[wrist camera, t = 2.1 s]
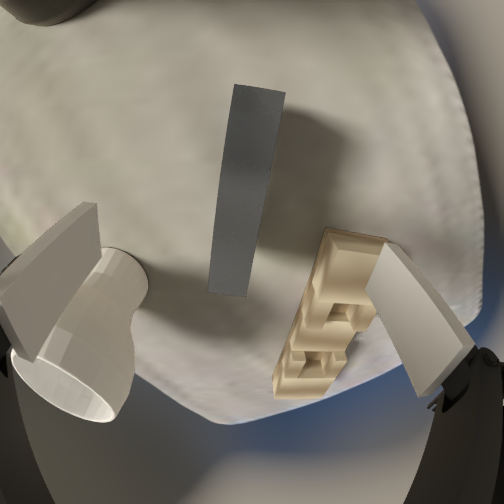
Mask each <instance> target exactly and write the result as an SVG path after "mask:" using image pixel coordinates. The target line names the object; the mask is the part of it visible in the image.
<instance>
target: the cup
mask: <svg viewBox="0 0 504 504" xmlns="http://www.w3.org/2000/svg"><path fill="white" fill-rule="evenodd" d="M101 252H102V258H101V259H100V261H99V262H98V263H97V265H96V266H95V267H94V269H93V270H92V271H91V273H90V274H89V275H88V277H87V278H86V280H85V281H84V282H83V284H82V285H81V287H80V288H79V289H78V291H77V292H76V294H75V295H74V297H73V298H72V300H71V301H70V303H69V304H68V306H67V307H66V309H65V310H64V312H63V313H62V315H61V317H60V318H59V320H58V321H57V323H56V324H55V326H54V328H53V329H52V331H51V333H50V334H49V336H48V338H47V339H46V341H45V343H44V345H43V346H42V348H41V350H40V352H39V354H38V355H37V357H36V359H35V361H34V363H31V362H29V361H27V360H24V359H22V358H20V357H18V356H17V354H16V352H15V351H14V349H12V353H11V360H12V364H13V366H14V368H15V370H16V371H17V372H18V374H19V375H20V377H21V378H22V379H23V380H24V381H25V382H26V383H27V384H28V385H29V386H30V387H31V388H32V389H33V390H34V391H35V392H36V393H38V394H39V395H40V396H41V397H43V398H44V399H46V400H47V401H48V402H50V403H51V404H53V405H55V406H56V407H58V408H60V409H62V410H64V411H66V412H68V413H70V414H72V415H75V416H77V417H80V418H83V419H86V420H90V421H94V422H109V421H112V420H113V419H114V418H115V417H116V416H117V414H118V412H119V411H120V409H121V407H122V405H123V404H124V402H125V400H126V399H127V397H128V394H129V391H130V387H131V383H132V379H133V375H134V371H135V355H134V344H133V339H132V334H131V330H130V326H131V321H132V317H133V314H134V312H135V311H136V309H137V308H138V307H139V305H140V304H141V302H142V301H143V299H144V298H145V296H146V294H147V291H148V279H147V276H146V273H145V271H144V270H143V268H142V267H141V265H140V264H139V263H138V262H137V261H136V260H135V259H134V258H133V257H131V256H130V255H128V254H127V253H125V252H123V251H121V250H118V249H114V248H101Z"/></svg>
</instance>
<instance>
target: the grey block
mask: <svg viewBox="0 0 504 504" xmlns="http://www.w3.org/2000/svg"><path fill="white" fill-rule="evenodd" d="M285 94H286V92H281V91H276V90H270V89H264V88H258V87H252V86H245V85H238V84H234V89H233V95H232V101H231V107H230V113H229V119H228V126H227V132H226V139H225V146H224V152H223V159H222V167H221V174H220V182H219V189H218V197H217V206H216V214H215V223H214V232H213V241H212V250H211V260H210V271H209V282H208V293H215V294H223V295H232V296H241V297H246V293H247V288H248V283H249V278H250V273H251V268H252V263H253V258H254V253H255V248H256V243H257V238H258V233H259V227H260V222H261V217H262V212H263V207H264V202H265V197H266V192H267V187H268V181H269V176H270V171H271V166H272V161H273V156H274V151H275V145H276V140H277V135H278V130H279V125H280V120H281V114H282V109H283V104H284V99H285Z"/></svg>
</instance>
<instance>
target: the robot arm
mask: <svg viewBox="0 0 504 504" xmlns="http://www.w3.org/2000/svg"><path fill="white" fill-rule="evenodd" d="M96 1H98V0H0V6H2V7H3V8H4V9H5V10H7V11H8V12H9V13H10V14H12V15H13V16H15V18H16V19H17V20H19V21H20V22H22V23H25V24H30V25H36V26H50V25H54V24H57V23H60V22H63V21H65V20H67V19H69V18H71V17H73V16H75V15H77V14H79V13H80V12H82V11H83V10H85V9H86V8H88V7H89V6H91V5H92V4H94V3H95V2H96ZM101 258H102V252H101V244H100V235H99V225H98V213H97V203H88V202H83V203H81V204H80V205H79V206H77V207H76V208H75V209H73V210H72V211H71V212H69V213H68V214H67V215H66V216H64V217H63V218H62V219H61V220H59V221H58V222H57V223H56V224H55V225H53V226H52V227H51V228H50V229H49V230H47V231H46V232H45V233H44V234H43V235H42V236H41V237H39V238H38V239H37V240H36V241H35V242H34V243H33V244H32V245H31V246H29V247H28V248H27V249H26V250H25V251H24V252H23V253H22V254H20V255H19V256H17V257H15V258H14V259H13V260H12V261H11V262H10V263H9V264H8V265H7V267H5V268H4V269H3V270H2V272H1V274H0V504H55V502H54V500H53V498H52V496H51V494H50V492H49V490H48V488H47V486H46V484H45V481H44V479H43V477H42V475H41V472H40V470H39V467H38V465H37V462H36V460H35V457H34V455H33V451H32V449H31V446H30V443H29V440H28V436H27V433H26V430H25V426H24V423H23V420H22V415H21V411H20V407H19V403H18V398H17V394H16V388H15V383H14V377H13V371H12V363H11V357H10V354H9V353H8V349H9V348H10V346H11V345H12V347H13V349H14V351H15V352H16V354H17V356H18V357H20V358H22V359H24V360H27V361H29V362H31V363H34V361H35V359H36V357H37V355H38V354H39V352H40V350H41V348H42V346H43V345H44V343H45V341H46V339H47V338H48V336H49V334H50V333H51V331H52V329H53V328H54V326H55V324H56V323H57V321H58V320H59V318H60V317H61V315H62V313H63V312H64V310H65V309H66V307H67V306H68V304H69V303H70V301H71V300H72V298H73V297H74V295H75V294H76V292H77V291H78V289H79V288H80V287H81V285H82V284H83V282H84V281H85V280H86V278H87V277H88V275H89V274H90V273H91V271H92V270H93V269H94V267H95V266H96V265H97V263H98V262H99V261H100V259H101ZM365 291H366V292H367V294H368V296H369V298H370V300H371V301H372V303H373V305H374V307H375V309H376V311H377V313H378V315H379V316H380V318H381V320H382V322H383V324H384V326H385V328H386V330H387V332H388V334H389V336H390V338H391V340H392V342H393V344H394V346H395V348H396V350H397V352H398V354H399V356H400V358H401V360H402V363H403V365H404V367H405V369H406V371H407V373H408V375H409V378H410V380H411V382H412V384H413V387H414V389H415V392H416V394H417V396H418V397H423V396H427V395H431V394H432V393H433V392H434V391H435V390H436V389H437V388H438V387H439V386H440V385H442V387H443V389H444V390H443V391H442V392H441V393H440V394H439V395H438V396H437V397H436V398H435V399H434V400H433V401H432V402H431V403H430V404H429V405H428V407H427V408H428V409H430V407H432V406H433V405H434V404H437V406H435V407H434V408H433V409H432V411H434V412H435V414H434V419H433V423H432V427H431V430H430V434H429V437H428V441H427V444H426V448H425V450H424V453H423V456H422V459H421V462H420V465H419V468H418V471H417V473H416V476H415V478H414V481H413V483H412V485H411V488H410V491H409V492H408V495H407V497H406V499H405V501H404V503H403V504H504V406H503V399H504V362H500V361H499V359H498V358H497V356H496V355H495V354H494V353H493V352H492V351H491V350H490V349H488V348H485V347H481V348H480V349H478V348H477V347H476V345H475V343H474V341H473V340H472V338H471V337H470V336H469V334H468V332H467V331H466V330H465V328H464V327H463V325H462V324H461V322H460V321H459V320H458V318H457V317H456V316H455V314H454V313H453V311H452V310H451V309H450V307H449V306H448V305H447V303H446V302H445V301H444V300H443V298H442V297H441V296H440V294H439V293H438V292H437V291H436V289H435V288H434V287H433V286H432V284H431V283H430V282H429V281H428V279H427V278H426V277H425V276H424V275H423V273H422V272H421V271H420V270H419V269H418V268H417V266H416V265H415V264H414V263H413V262H412V261H411V259H410V258H409V257H408V256H407V255H406V254H405V253H404V252H403V250H402V249H401V248H400V247H399V246H398V245H397V244H392V243H386V242H385V243H384V246H383V248H382V251H381V253H380V255H379V258H378V260H377V263H376V265H375V267H374V270H373V272H372V274H371V277H370V279H369V281H368V283H367V285H366V288H365Z"/></svg>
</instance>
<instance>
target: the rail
mask: <svg viewBox="0 0 504 504" xmlns="http://www.w3.org/2000/svg"><path fill="white" fill-rule="evenodd" d="M385 242H386V243H389V241H388V240H387V239H386V238H381V237H376V236H370V235H365V234H359V233H354V232H348V231H342V230H336V229H330V228H325V231H324V234H323V237H322V240H321V244H320V247H319V250H318V253H317V256H316V259H315V262H314V265H313V268H312V271H311V274H310V277H309V280H308V283H307V286H306V289H305V292H304V295H303V297H302V300H301V303H300V306H299V308H298V311H297V314H296V317H295V319H294V322H293V325H292V327H291V330H290V333H289V335H288V338H287V340H286V343H285V346H284V348H283V351H282V353H281V356H280V358H279V361H278V363H277V366H276V368H275V370H274V373H273V375H272V380H273V391H274V399H313V398H322V396H323V395H324V394H325V392H326V391H327V390H328V388H329V387H330V385H331V384H332V383H333V381H334V380H335V378H336V377H337V375H338V374H339V373H340V371H341V370H342V368H343V367H344V365H345V364H346V362H347V361H348V360H347V357H346V354H345V350H346V348H347V346H348V345H349V343H350V341H351V340H352V338H353V336H354V335H355V333H356V332H366V330H367V329H368V327H369V325H370V323H371V322H372V320H373V318H374V316H375V315H376V313H377V311H376V309H375V307H374V305H373V303H372V301H371V300H370V298H369V296H368V294H367V292H366V291H365V288H366V285H367V283H368V281H369V279H370V277H371V274H372V272H373V270H374V267H375V265H376V263H377V260H378V258H379V255H380V253H381V251H382V248H383V246H384V243H385Z"/></svg>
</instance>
